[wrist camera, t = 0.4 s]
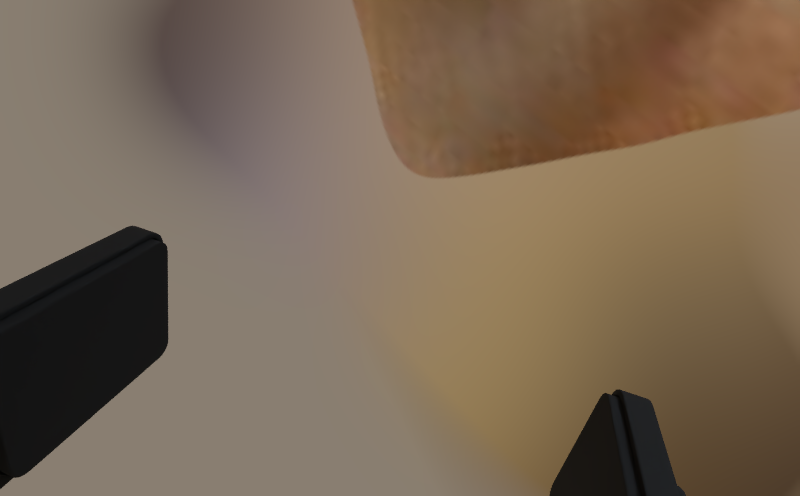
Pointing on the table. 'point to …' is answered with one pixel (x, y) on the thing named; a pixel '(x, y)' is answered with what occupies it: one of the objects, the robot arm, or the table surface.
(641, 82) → the table surface
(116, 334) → the robot arm
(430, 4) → the table surface
